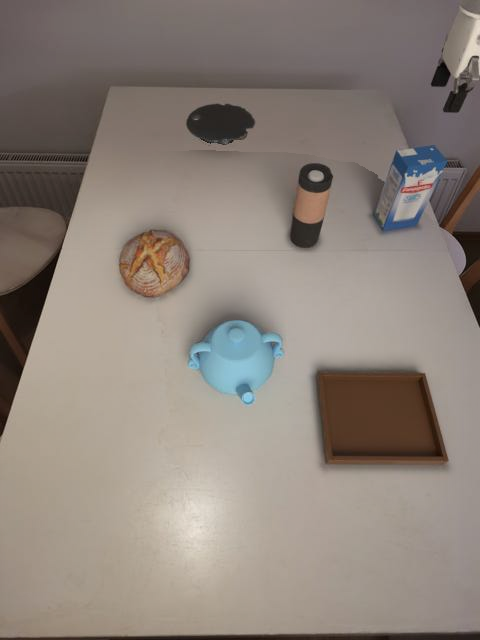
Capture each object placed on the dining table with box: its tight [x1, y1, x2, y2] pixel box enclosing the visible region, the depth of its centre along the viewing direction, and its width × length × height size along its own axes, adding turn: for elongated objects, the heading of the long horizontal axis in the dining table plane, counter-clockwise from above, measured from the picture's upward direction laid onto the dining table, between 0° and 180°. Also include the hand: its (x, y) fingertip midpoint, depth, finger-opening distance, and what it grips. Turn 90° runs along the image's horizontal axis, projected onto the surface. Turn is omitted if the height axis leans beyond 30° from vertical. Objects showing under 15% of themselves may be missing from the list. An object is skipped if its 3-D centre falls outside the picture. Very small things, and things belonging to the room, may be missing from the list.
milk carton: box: [372, 144, 448, 232], centre depth 107 cm, size 10×6×20 cm, turn 104°
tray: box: [316, 371, 449, 466], centre depth 83 cm, size 22×18×3 cm
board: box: [185, 102, 256, 145], centre depth 135 cm, size 22×22×5 cm
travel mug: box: [290, 162, 334, 249], centre depth 103 cm, size 8×8×20 cm
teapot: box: [187, 319, 285, 407], centre depth 83 cm, size 20×20×13 cm
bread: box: [118, 229, 190, 298], centre depth 101 cm, size 16×20×10 cm
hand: (444, 98), depth 88 cm, fingers open, 9 cm apart
